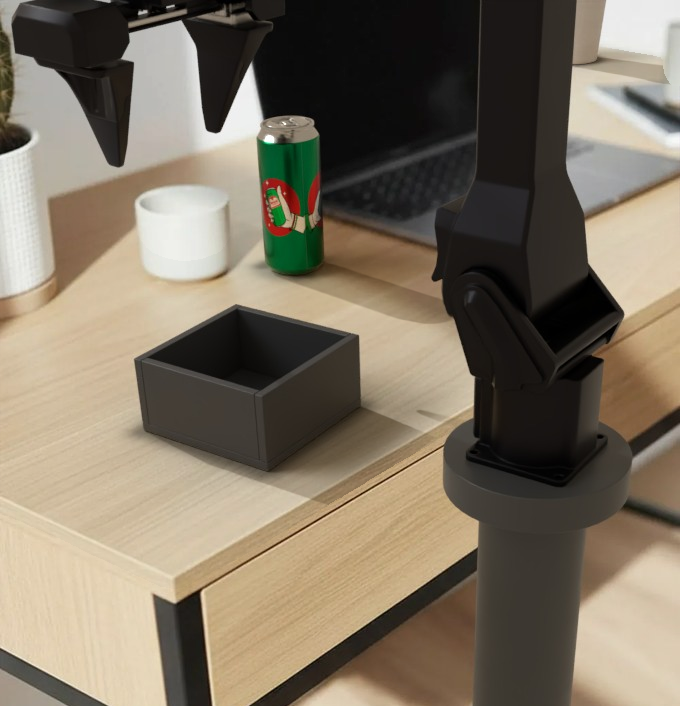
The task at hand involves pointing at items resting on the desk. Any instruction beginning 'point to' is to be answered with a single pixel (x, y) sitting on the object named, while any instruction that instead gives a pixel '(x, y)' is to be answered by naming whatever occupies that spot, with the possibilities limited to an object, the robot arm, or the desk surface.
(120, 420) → the desk surface
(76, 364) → the desk surface
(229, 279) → the desk surface
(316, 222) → the soda can
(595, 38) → the coffee cup
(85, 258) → the desk surface
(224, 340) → the open square box
